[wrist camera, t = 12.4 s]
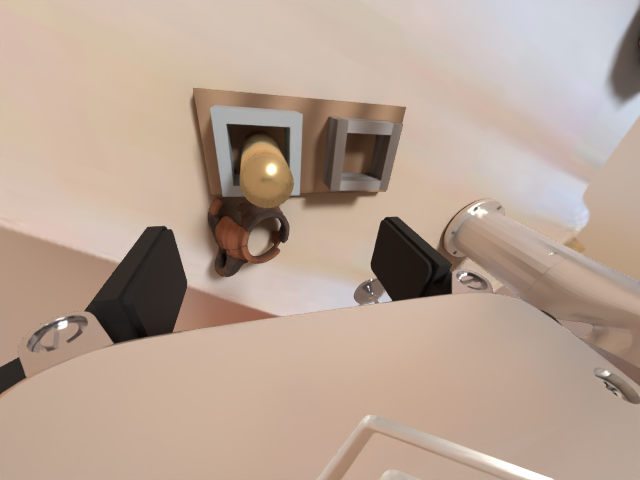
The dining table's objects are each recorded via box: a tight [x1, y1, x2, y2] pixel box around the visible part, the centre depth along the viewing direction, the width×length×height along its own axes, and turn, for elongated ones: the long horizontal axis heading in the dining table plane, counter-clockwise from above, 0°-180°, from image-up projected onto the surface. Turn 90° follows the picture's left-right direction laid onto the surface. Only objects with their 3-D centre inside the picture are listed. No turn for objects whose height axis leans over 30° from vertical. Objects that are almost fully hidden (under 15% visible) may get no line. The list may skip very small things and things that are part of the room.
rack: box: [210, 105, 303, 197], centre depth 26 cm, size 8×8×4 cm
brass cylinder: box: [240, 131, 294, 208], centre depth 23 cm, size 4×4×12 cm
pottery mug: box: [208, 198, 289, 277], centre depth 32 cm, size 12×10×8 cm
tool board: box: [193, 88, 406, 195], centre depth 28 cm, size 24×11×5 cm, turn 85°
